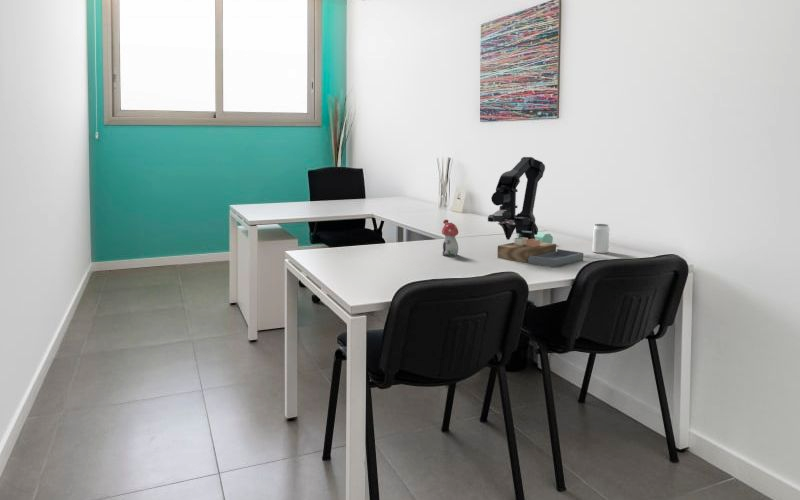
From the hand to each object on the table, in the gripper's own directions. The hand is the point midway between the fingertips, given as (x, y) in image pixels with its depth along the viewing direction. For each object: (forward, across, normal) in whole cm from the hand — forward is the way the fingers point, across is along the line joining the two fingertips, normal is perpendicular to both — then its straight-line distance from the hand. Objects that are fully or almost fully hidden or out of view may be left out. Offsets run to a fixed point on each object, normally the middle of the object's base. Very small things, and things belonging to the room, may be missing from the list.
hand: (508, 239), depth 262 cm
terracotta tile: (+1, +13, 0) cm, 13 cm away
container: (+7, -12, +34) cm, 36 cm away
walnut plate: (+6, +10, 0) cm, 12 cm away
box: (+6, +24, 0) cm, 25 cm away
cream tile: (+1, +7, 0) cm, 7 cm away
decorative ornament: (+6, -16, -20) cm, 26 cm away
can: (+6, +26, +30) cm, 41 cm away
